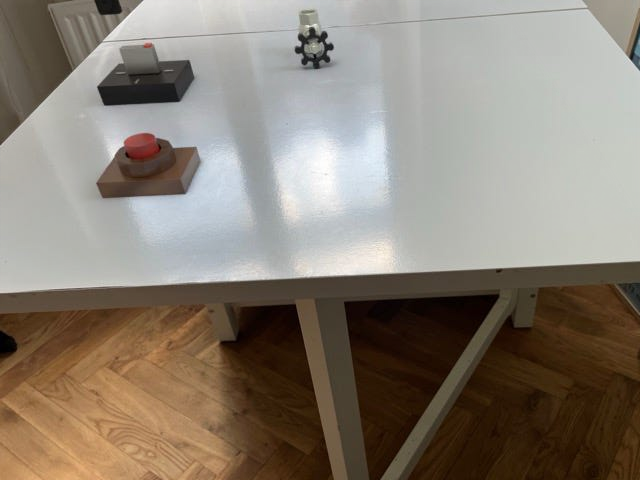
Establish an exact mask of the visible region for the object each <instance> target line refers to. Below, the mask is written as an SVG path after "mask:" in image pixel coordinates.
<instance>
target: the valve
mask: <svg viewBox="0 0 640 480" xmlns="http://www.w3.org/2000/svg"><path fill="white" fill-rule="evenodd" d="M298 18H299V25H298V34H297V41H299V42H300V46H299V45H295V46H294V52H295V54H296V55H300V54H301V55H302V57H301V58H300V63H301V65H302V66H307V65H308V63H309V62H310V63H312V66H313V68H314V69H315V70H318V69H319V68H320V67H321V65H320V62H321V61H323V62H324V63H326V64H329V63H330V62H331V56H330V55H328V52H329V51H330V52H332V51H334V49H335V46H334V45H335V44H334V43H333V42H331V41H330V42H329V43H327V41H326V39H328V37H329V33H328V31H326V30H323V29H322V25H321V23H320V21H319V20H320V19H319V12H318V10H317V9H315V8H304V9H301V10H299V11H298ZM322 44H323V48H322ZM322 50H323V52H322V53H321V55H319V56H318V55H317V53H319V52H321V51H322ZM309 54H312V56H313V57H311V56H309Z"/></svg>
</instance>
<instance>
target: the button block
mask: <svg viewBox="0 0 640 480" xmlns="http://www.w3.org/2000/svg"><path fill="white" fill-rule="evenodd" d="M155 138H156V141H157V143H158V146H159V152H158V153H157V154H155V155H153V156H151V157H148V158H144V159H130V158H129V156H128V153H127V151H126V148H125V146H124V145H123V146H121V147H120V148H118V150H117V151H116V152H115V154H114V155H113V156H114V157H113V158H112V159H111V161H110V162H109V164H108V165H107V166H106V168H105V169H104V171H103V172H102V173H101V174H100V176H99V178H98V179H97V181H96V182H95V185H96V187H97V189H98V191H99V193H100V196H101V198H102V199H115V198H116V199H118V198H135V197H137V198H139V197H154V196H155V197H158V196H179V195H187V192H188V190H189V188H190V186H191V184H192V181H193V179H194V177H195V176H196V173H197V171H198V169H199V166H200V164H201V161H202V160H201V158H200V154H199V150H198V147H197V146H184V147H173V145H172V144H171V142H170V140H168V139H164V138H160V137H155Z"/></svg>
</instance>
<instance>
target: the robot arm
mask: <svg viewBox="0 0 640 480" xmlns="http://www.w3.org/2000/svg"><path fill="white" fill-rule="evenodd" d="M93 1H94V4H95V6H96V9H97V12H98V14H99V15H100V16H111V15H120V14H122V13H123V9H122V5H121V3H120V0H93Z"/></svg>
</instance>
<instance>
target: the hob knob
mask: <svg viewBox="0 0 640 480" xmlns="http://www.w3.org/2000/svg"><path fill="white" fill-rule="evenodd" d="M118 50H119V53H120V57H121V59H122V63H124V65H125V68H126V71H127V73H128V75H134V74H154V73H159V72H160V71H161V66H160V63H159V61H160V60H159V56H158V53H157V51H156V47H155V44H154V43H152V42H145V43H144V44H130V45H129V44H128V45H121V46H120V48H118Z"/></svg>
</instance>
